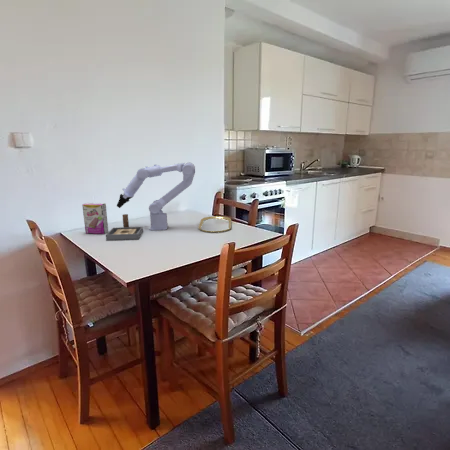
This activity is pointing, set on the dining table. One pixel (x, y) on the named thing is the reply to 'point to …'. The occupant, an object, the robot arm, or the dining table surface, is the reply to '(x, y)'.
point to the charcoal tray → (112, 236)
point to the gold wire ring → (214, 218)
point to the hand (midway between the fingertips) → (119, 205)
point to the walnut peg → (125, 220)
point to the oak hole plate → (126, 231)
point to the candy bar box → (95, 218)
